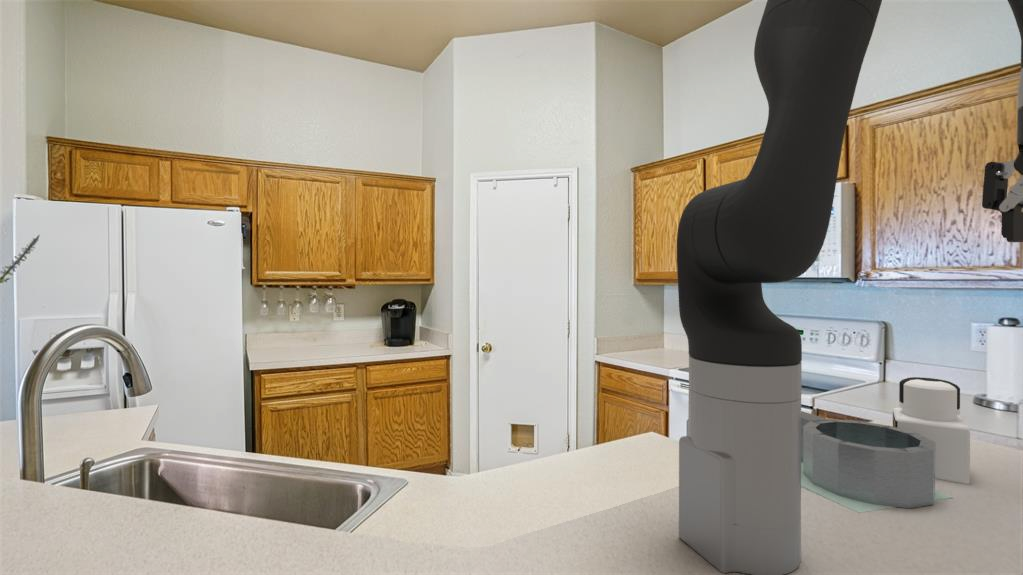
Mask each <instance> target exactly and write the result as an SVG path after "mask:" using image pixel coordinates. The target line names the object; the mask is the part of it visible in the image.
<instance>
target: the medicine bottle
mask: <svg viewBox="0 0 1023 575" xmlns="http://www.w3.org/2000/svg"><path fill="white" fill-rule="evenodd" d="M898 390H899V391H898V393H899V395H898V397H899V398H898V401H899V405H898V406H899V407H893V409H892V427H896V428H900V429H903V430H907V431H910V432H914V433H918V434H920V435H922V436H924V437H926V438H928V439H930V440H931V441H933V442H935V480H941V481H946V482H953V483H959V484H963V485H970V481H971V479H970V478H971V429H970V427H969V426H968V424H967V422H965V420H964V419H963V417H962V416H961V415H960V414H961V388H960V387H959V385H957V384H955V383H954V382H951V381H948V380H945V379H938V378H933V377H932V378H931V377H917V376H916V377H915V376H912V377H911V376H910V377H907V378H902V379H901V380H900V381H899V388H898Z"/></svg>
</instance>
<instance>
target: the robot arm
mask: <svg viewBox="0 0 1023 575" xmlns="http://www.w3.org/2000/svg"><path fill="white" fill-rule="evenodd" d="M882 2H883V0H767V1H766V3H765V7H764V10H763V14H762V16H761V19H760V24H759V25H758V28H757V33H756V36H755V37H756V38H755V42H754V50H753V56H754V58H753V59H754V65H755V69H756V72H757V76H758V80H759V82H760V84H761V85H760V86H761V87H762V89H763V90H762V91H763V92H764V94H765V98H766V101H767V104H768V105H767V106H768V114H767V115H768V117H767V122H766V125H765V126H766V127H765V129H764V133H763V137H762V140H761V143H760V148H759V150H758V153H757V154H756V158H755V161H754V163H753V165H752V168H751V170H750V171H749V173H748V175H747V176H746V177H745V178H741V179H739V180H736V181H732V182H729V183H725V184H722V185H721V184H720V185H718V186H714V187H712V188H708V189H706V190H703V191H701V192H699V193H698V194H696V195H694V196H693V197H692V198H691V199H690V200H689V202H688V203H687V204H686V205H685V206H684V209H683V211H682V213H681V217H680V218H679V223H678V228H677V234H676V272H677V291H678V292H677V293H678V311H679V319H680V322H681V326H682V328H683V331H684V332H685V335H686V338H687V343H688V344H687V346H688V414H687V415H688V416H687V417H688V422H687V423H688V425H687V426H688V427H687V428H688V429H687V430H688V431H687V433H688V434H687V435H685V436H684V435H683V436H680V438H679V440H678V537H679V538H680V539H681V540H682V541H683V542H685V543H686V544H687V545H688V546H689V547H690V548H692V549H693V550H694V551H695V552H697V554H699V555H700V556H701V557H703V559H705V560H706V561H707V562H709V564H711V565H712V566H713V567H715V568H716V569H717V570H718V571H719V572H720V573H724V574H726V573H731V572H732V573H733V572H734V573H742V574H748V575H787V574H789V573H792V572H795V570H797V568H799V567H800V565H801V561H802V559H801V558H802V555H801V554H802V487H801V411H802V369H803V368H802V367H803V366H802V361H803V360H802V359H803V358H802V357H803V356H802V355H803V349H802V348H803V347H802V346H803V345H802V344H803V343H802V337H801V333H800V332H799V331H798V329H797V328H796V327H794V326H793V325H791V324H790V323H788V322H786V321H784V320H782V318H780V317H778V315H776V314H774V312H773V311H772V310H770V308H769V307H768V305H767V304H766V302H765V300H764V294H763V293H764V292H763V285H762V284H769V283H770V284H772V283H776V284H777V283H784V282H790V281H792V280H795V279H797V278H799V277H801V276H802V275H804V274H805V273H806V272H807V271H808V270H809V269H810V268H811V267H812V266H813V265H814V264H815V262H816V260H817V258H818V257H819V254H821V251H822V248H823V246H824V243H825V240H826V237H827V235H828V229H829V226H830V221H831V216H832V209H833V204H834V200H835V199H834V198H835V193H836V186H837V180H838V173H839V168H840V160H841V155H842V150H843V144H844V140H845V139H844V137H845V133H846V128H847V124H848V121H849V120H848V119H849V116H850V112H851V110H852V109H851V108H852V105H853V100H854V97H855V93H856V88H857V84H858V81H859V77H860V73H861V70H862V66H863V62H864V60H865V57H866V53H867V51H868V49H869V48H868V47H869V45H870V43H871V42H870V41H871V39H872V36H873V33H874V29H875V27H876V23H877V19H878V15H879V13H880V9H881V7H882V6H881V5H882ZM1007 2H1008V4H1009V6H1010V9H1011V11H1012V14H1013V17H1014V19H1015V22H1016V25H1017V29H1018V33H1019V36H1020V76H1019V81H1018V85H1017V113H1016V114H1017V118H1016V119H1017V121H1016V123H1017V127H1016V128H1017V129H1016V131H1017V132H1016V133H1017V134H1016V135H1017V136H1016V137H1017V138H1016V144H1017V148H1018V154H1017V156H1016V158H1015V160H1008V161H1002V162H999V161H989V162H987V163H986V164H985V165H984V174H983V186H982V187H983V189H982V199H981V200H982V201H981V206H982V208H983V209H986V210H993V211H997V212H1000V214H1001V235H1002V236H1001V237H1003V238H1004V239H1006V241H1007V242H1008V243H1023V0H1007ZM1015 171H1016V172H1017V173H1019V174H1020V175H1021V176H1020V177H1019V179H1018V180H1017V181H1016V182H1015V184H1014V185H1013V186H1012V187H1011V189H1010V190H1009V194H1008V188H1009V187H1008V186H1009V185H1008V184H1009V179H1010V178H1011V177H1012V176H1013V175H1014V172H1015Z"/></svg>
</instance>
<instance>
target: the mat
mask: <svg viewBox="0 0 1023 575" xmlns="http://www.w3.org/2000/svg"><path fill="white" fill-rule="evenodd" d="M801 488H802V489H805V490H807V491H809V492H812V493H814V494H816V495H818V496H820V497H822V498H825V499H826V500H829V501H831V502H833V503H836V504H838V505H839V506H840V505H841V506H842V507H844V508H847V509H848V510H851V511H853V512H855V513H858V514H861V513H866V512H867V513H869V512H873V511H880V510H885V509H892V508H894V509H895V507H891V506H881V505H873V504H869V503H865V502H861V501H858V500H854V499H850V498H846V497H842V496H838V495H836V494H834V493H832V492H829V491H827V490H825V489H823V488H821V487H818V486H816V485H814V484H812V483H811V481H810V480H809V479H808V478H807V477H806V476H805V475H804V474H803V463H802V462H801ZM949 499H954V496H952V495H950V494H947V493H944V492H942V491H939V490H936V489H935V498H934V502H936V501H937V502H938V501H943V500H949Z"/></svg>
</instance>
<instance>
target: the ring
mask: <svg viewBox="0 0 1023 575" xmlns="http://www.w3.org/2000/svg"><path fill="white" fill-rule="evenodd" d="M801 462H802V463H803V474H804V475H805V476H806V477H807V478H808V479H809V480H810V481H811V483H812V484H814V485H816V486H818V487H821V488H823V489H825V490H827V491H829V492H832V493H834V494H836V495H838V496H842V497H846V498H850V499H854V500H858V501H861V502H865V503H869V504H873V505H881V506H891V507H894V508H903V509H914V508H920V507H926V506H931V505H934V502H935V501H934V498H935V490H936V479H935V442H933V441H931V440H930V439H928V438H926V437H924V436H922V435H920V434H918V433H914V432H910V431H907V430H903V429H900V428H896V427H893V425H887V424H879V423H874V422H868V421H863V420H854V419H853V420H851V419H836V418H835V419H834V418H827V417H823V416H819V415H816V414H812V413H809V412H806V411H803V410H801Z"/></svg>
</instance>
